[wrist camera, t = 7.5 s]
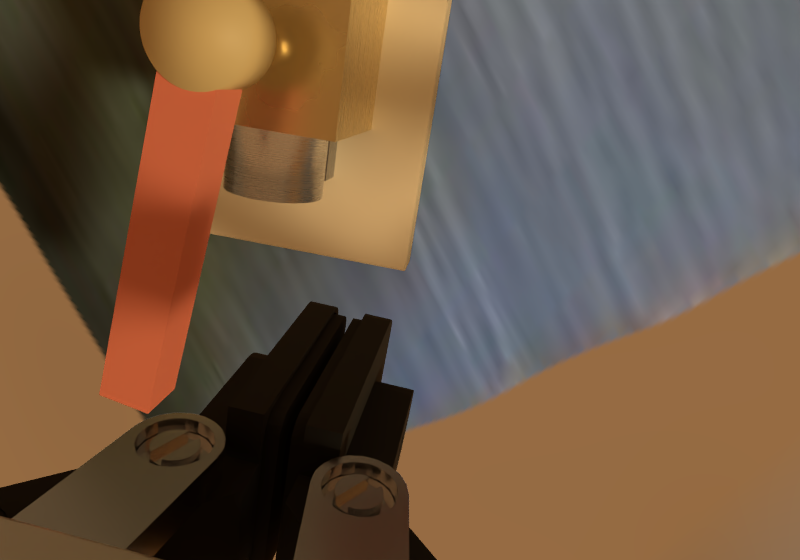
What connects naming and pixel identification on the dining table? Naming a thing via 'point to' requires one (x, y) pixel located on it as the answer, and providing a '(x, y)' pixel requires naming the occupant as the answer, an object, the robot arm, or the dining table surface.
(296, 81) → the valve body
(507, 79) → the dining table surface
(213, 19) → the valve lever
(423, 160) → the mounting board
